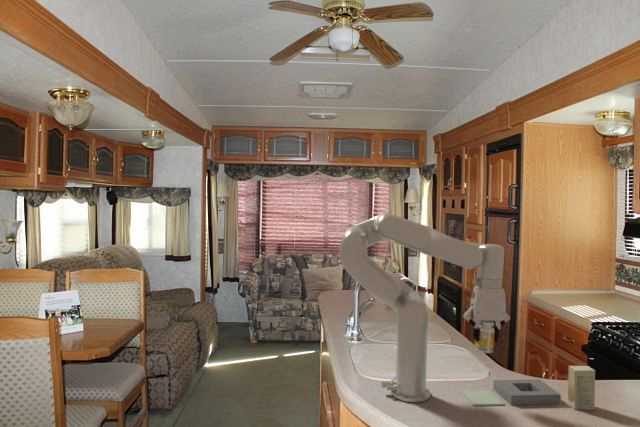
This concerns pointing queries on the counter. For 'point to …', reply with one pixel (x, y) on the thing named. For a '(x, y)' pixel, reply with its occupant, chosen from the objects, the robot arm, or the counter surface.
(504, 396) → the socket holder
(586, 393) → the skincare box
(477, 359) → the counter surface
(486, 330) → the supplement bottle
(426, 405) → the counter surface
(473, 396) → the rubber mat
